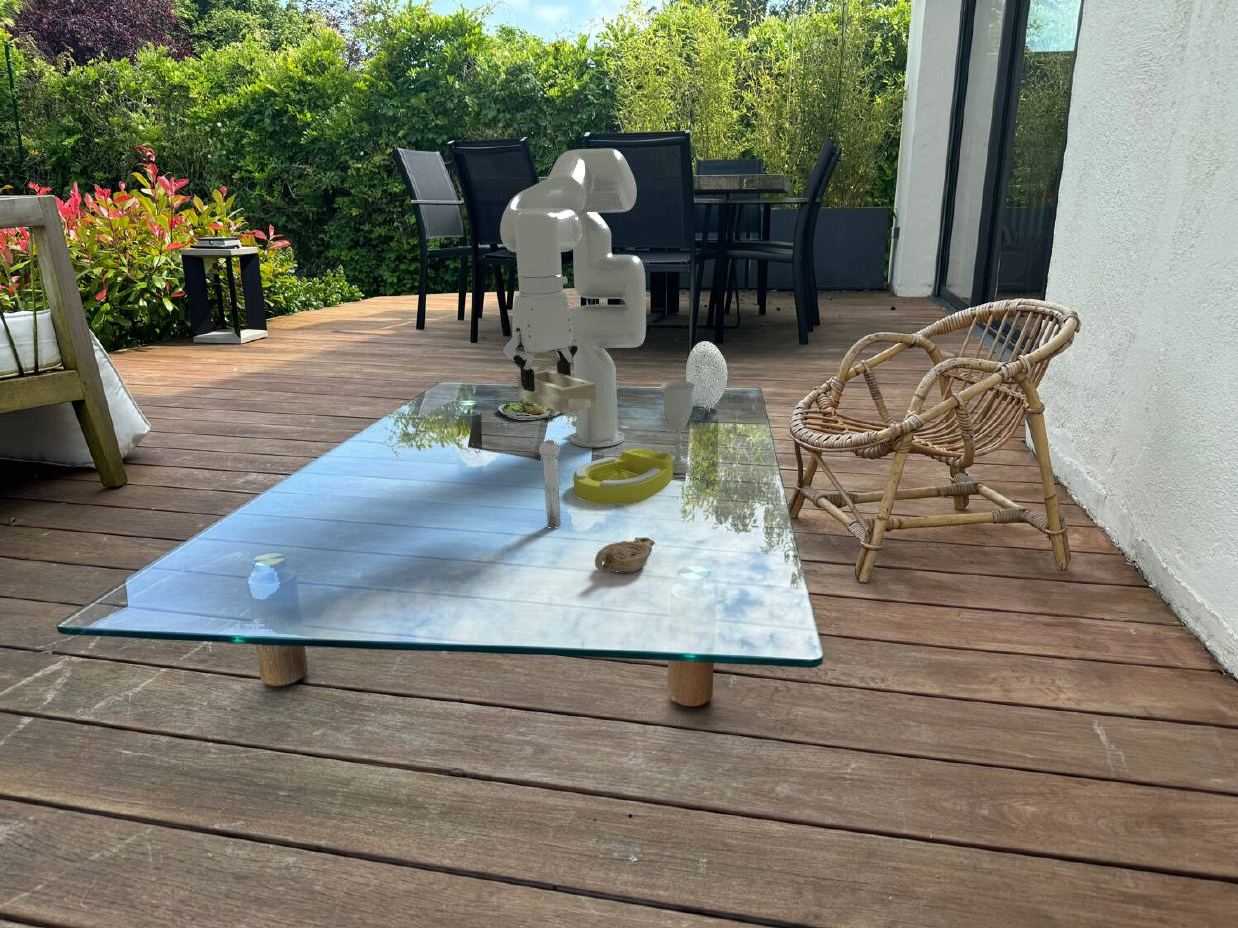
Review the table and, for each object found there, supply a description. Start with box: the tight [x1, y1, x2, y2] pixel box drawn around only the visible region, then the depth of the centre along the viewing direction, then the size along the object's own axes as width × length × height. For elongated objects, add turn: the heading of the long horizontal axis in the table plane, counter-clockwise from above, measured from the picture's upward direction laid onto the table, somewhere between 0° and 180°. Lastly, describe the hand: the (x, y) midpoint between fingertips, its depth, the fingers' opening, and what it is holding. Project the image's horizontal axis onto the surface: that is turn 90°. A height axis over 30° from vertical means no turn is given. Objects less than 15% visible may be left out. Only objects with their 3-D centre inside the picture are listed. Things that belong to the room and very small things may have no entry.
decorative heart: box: [685, 340, 728, 413], centre depth 224 cm, size 18×11×17 cm, turn 0°
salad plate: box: [497, 398, 562, 419], centre depth 226 cm, size 19×18×5 cm
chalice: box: [660, 381, 695, 474], centre depth 175 cm, size 7×7×18 cm
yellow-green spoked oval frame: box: [572, 448, 674, 505], centre depth 168 cm, size 16×21×5 cm
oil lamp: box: [594, 537, 656, 573], centre depth 132 cm, size 13×8×5 cm, turn 139°
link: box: [516, 369, 596, 414], centre depth 150 cm, size 15×7×4 cm, turn 36°
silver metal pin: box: [538, 439, 562, 528], centre depth 148 cm, size 4×4×16 cm
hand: (546, 386), depth 152 cm, fingers closed on link, 6 cm apart
